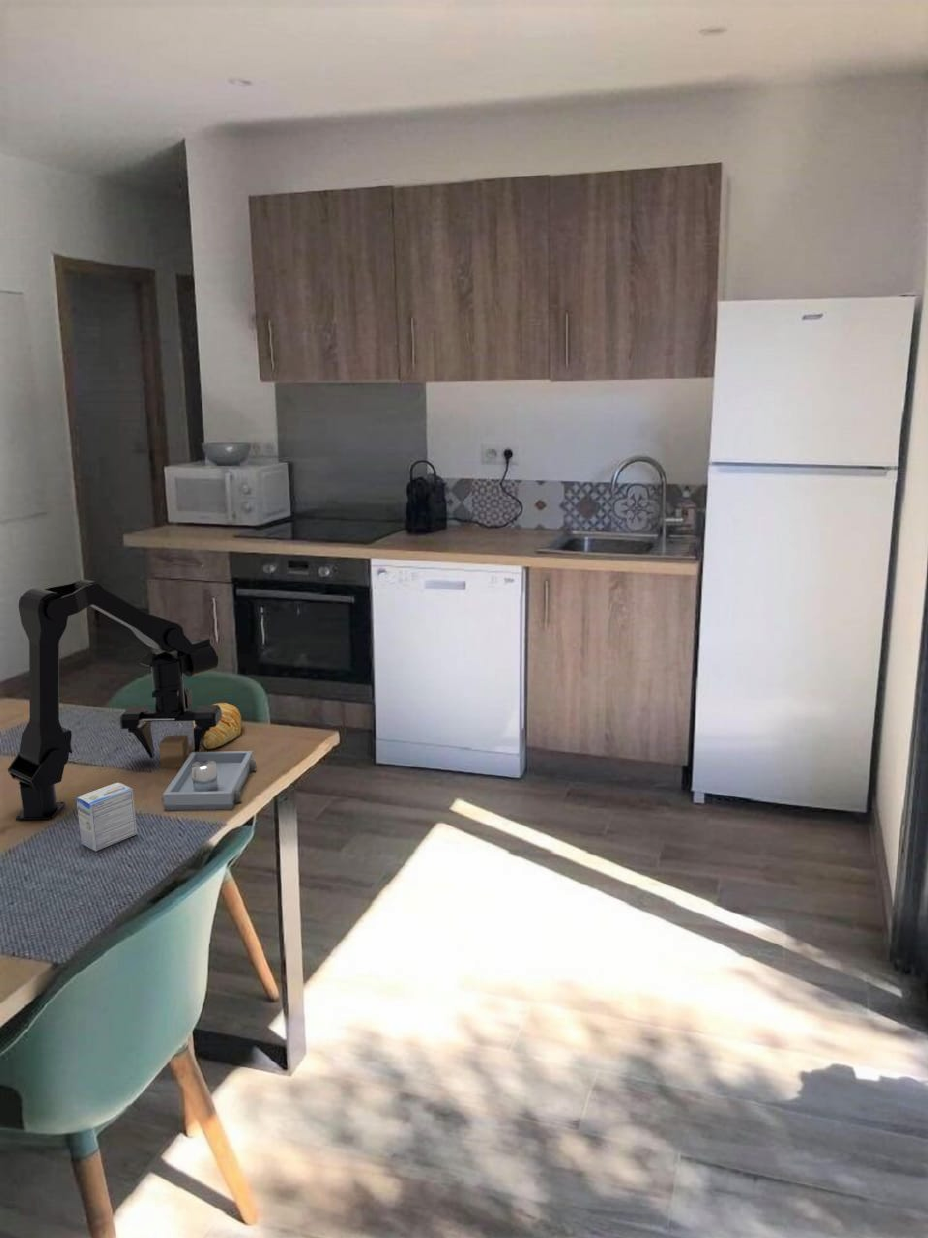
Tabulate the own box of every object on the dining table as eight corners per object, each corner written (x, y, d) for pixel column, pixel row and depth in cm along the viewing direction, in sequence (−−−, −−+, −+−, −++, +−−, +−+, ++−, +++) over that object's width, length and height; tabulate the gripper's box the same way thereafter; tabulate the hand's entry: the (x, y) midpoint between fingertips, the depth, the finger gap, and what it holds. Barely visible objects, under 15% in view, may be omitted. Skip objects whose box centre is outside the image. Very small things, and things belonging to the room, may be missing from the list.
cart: (237, 809, 177) (236, 793, 176) (158, 810, 177) (157, 795, 176) (258, 765, 197) (257, 750, 196) (188, 766, 197) (186, 752, 196)
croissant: (225, 768, 205) (240, 735, 203) (179, 748, 203) (194, 715, 201) (240, 729, 225) (254, 699, 223) (198, 711, 223) (212, 681, 221)
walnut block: (184, 767, 196) (181, 743, 195) (161, 767, 196) (158, 744, 195) (190, 758, 201) (187, 735, 199) (167, 759, 201) (165, 735, 199)
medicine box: (123, 828, 171) (118, 781, 169) (138, 835, 168) (133, 787, 166) (81, 845, 165) (75, 796, 163) (95, 853, 162) (89, 804, 160)
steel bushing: (215, 795, 181) (213, 769, 179) (191, 795, 181) (188, 770, 179) (220, 785, 185) (218, 760, 184) (197, 785, 185) (194, 760, 184)
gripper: (225, 669, 202) (230, 741, 206) (133, 671, 202) (140, 743, 206) (211, 686, 191) (218, 762, 195) (114, 688, 191) (123, 764, 195)
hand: (175, 757), depth 198 cm, fingers open, 9 cm apart
